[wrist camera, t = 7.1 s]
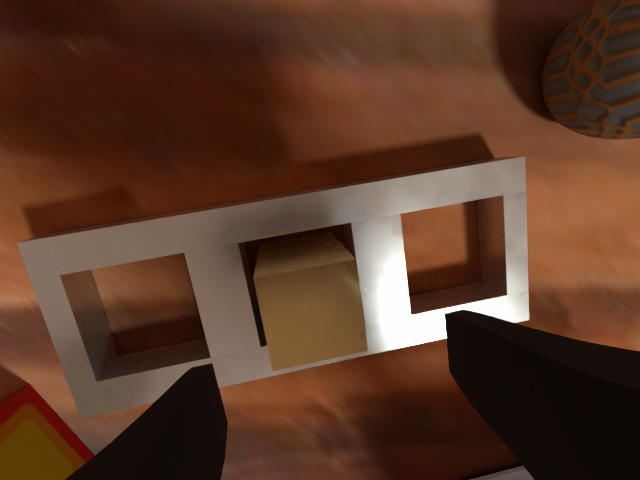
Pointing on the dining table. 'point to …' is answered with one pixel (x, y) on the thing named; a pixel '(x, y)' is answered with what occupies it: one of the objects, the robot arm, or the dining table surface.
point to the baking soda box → (36, 440)
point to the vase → (597, 71)
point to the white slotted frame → (237, 285)
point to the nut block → (309, 300)
